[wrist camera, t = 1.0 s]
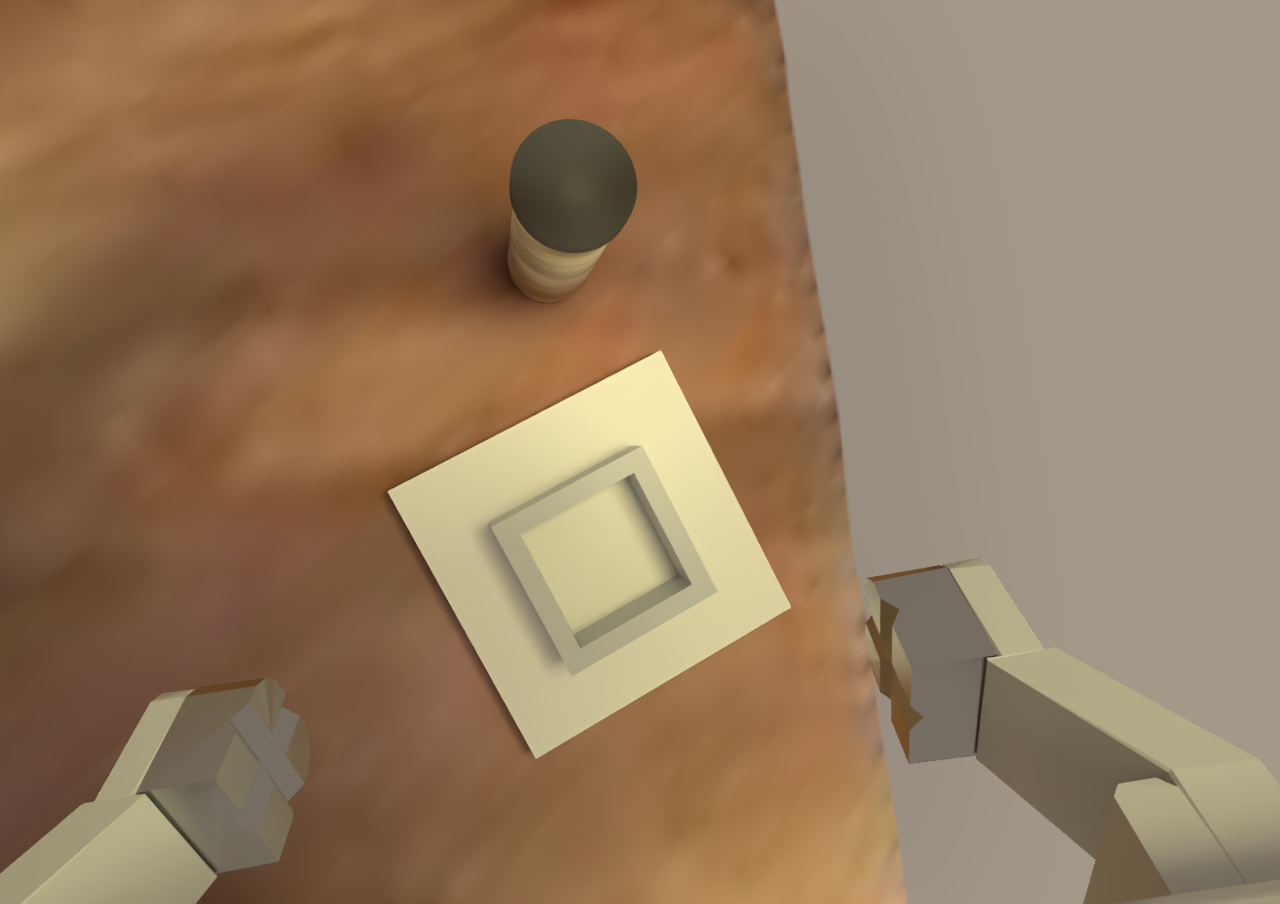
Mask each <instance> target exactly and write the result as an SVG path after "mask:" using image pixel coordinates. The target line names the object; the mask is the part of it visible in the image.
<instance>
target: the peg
mask: <svg viewBox="0 0 1280 904" xmlns="http://www.w3.org/2000/svg"><path fill="white" fill-rule="evenodd" d="M509 186H510V199H511V203H512V207H513V208H512V218H511V228H510V238H509V248H508V258H507V265H508V270H509V274H510V276H511V279H512V281H513V282H514V284H515V285H516V287H517V288H518V289H519V290H520V291H521V292H522V293H523V294H524V295H526V296H527V297H529V298H531V299H533V300H535V301H538V302H543V303H557V302H561V301H564V300H566V299H568V298H570V297H572V296H573V295H574V294H576V293H577V292H578V291H579V290H580V288H581V287H582V286H583V284H584V282H585V281H586V279H587V277H588V275H589V274H590V272H591V270H592V269H593V267H594V265H595V264H596V262H597V260H598V259H599V257H600V255H601V254H602V252H603V250H604V249H605V247H606V245H607V244H608V242H610V241H611V240H612V239H614V238H615V237H616V235H617V234H618V233H619V232H620V231H621V229H622V228H623V227H624V225H625V223H626V222H627V220H628V218H629V217H630V215H631V213H632V210H633V208H634V205H635V201H636V195H637V179H636V173H635V169H634V166H633V163H632V161H631V159H630V156H629V155H628V153H627V151H626V150H625V148H624V147H623V146H622V144H621V143H620V142H619V141H618V140H617V139H616V138H615V137H614V136H613V135H612V134H610V133H609V132H608V131H606V130H605V129H603V128H601V127H599V126H597V125H595V124H593V123H590V122H586V121H582V120H575V119H565V120H558V121H553V122H550V123H547V124H545V125H543V126H541V127H539V128H537V129H536V130H535V131H533V132H532V133H531V134H530V135H529V136H528V137H527V138H526V139H525V140H524V141H523V142H522V144H521V145H520V147H519V148H518V150H517V152H516V154H515V157H514V159H513V162H512V167H511V174H510V185H509Z"/></svg>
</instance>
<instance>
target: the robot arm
mask: <svg viewBox="0 0 1280 904" xmlns="http://www.w3.org/2000/svg"><path fill="white" fill-rule="evenodd" d="M865 600H866V602H867V605H868V607H869V610H870V612H871V614H872V616H871V617H870V618H869V620H868V621H867V622H866V641H867V647H868V653H869V659H870V663H871V666H872V670H873V673H874V676H875V679H876V682H877V684H878V687H879V690H880V692H881V693H882V694H884V695H886V696H887V697H888V698H890V699H891V720H892V723H893V725H894V728H895V730H896V733H897V735H898V738H899V740H900V743H901V745H902V748H903V750H904V753H905V755H906V758H907V760H908V763H909V764H913V763H920V762H928V761H936V760H944V759H952V758H958V757H967V756H975V755H976V759H977V760H978V761H979V762H981V763H982V764H983V765H984V766H985V767H987V768H988V769H989V770H990V771H991V772H992V773H994V774H995V775H996V776H997V777H998V778H1000V779H1001V780H1002V781H1003V782H1004V783H1006V784H1007V785H1008V786H1009V787H1010V788H1012V789H1013V790H1014V791H1015V792H1016V793H1017V794H1018V795H1020V796H1021V797H1022V798H1023V799H1024V800H1026V801H1027V802H1028V803H1029V804H1030V805H1032V806H1033V807H1034V808H1035V809H1036V810H1037V811H1039V812H1040V813H1041V814H1042V815H1043V816H1044V817H1046V818H1047V819H1048V820H1049V821H1050V822H1052V823H1053V824H1054V825H1055V826H1056V827H1057V828H1059V829H1060V830H1061V831H1062V832H1063V833H1065V834H1066V835H1067V836H1068V837H1069V838H1071V839H1072V840H1073V841H1074V842H1075V843H1076V844H1078V845H1079V846H1080V847H1081V848H1082V849H1084V850H1085V851H1086V852H1087V853H1088V854H1090V855H1091V856H1092V857H1093V858H1094V859H1095V860H1096V861H1095V864H1094V868H1093V871H1092V875H1091V878H1090V882H1089V885H1088V889H1087V892H1086V896H1085V899H1084V903H1083V904H1280V785H1279V784H1278V783H1277V781H1276V780H1275V779H1274V778H1273V776H1272V775H1271V774H1270V773H1269V772H1268V770H1267V769H1266V768H1265V767H1264V766H1263V764H1262V763H1261V762H1260V761H1259V759H1257V758H1255V757H1253V756H1251V755H1250V754H1248V753H1246V752H1244V751H1242V750H1240V749H1239V748H1237V747H1235V746H1233V745H1231V744H1229V743H1228V742H1226V741H1224V740H1222V739H1220V738H1219V737H1217V736H1215V735H1213V734H1211V733H1210V732H1208V731H1206V730H1204V729H1203V728H1201V727H1199V726H1197V725H1195V724H1193V723H1191V722H1190V721H1188V720H1186V719H1184V718H1183V717H1180V716H1179V715H1177V714H1175V713H1174V712H1172V711H1170V710H1168V709H1166V708H1164V707H1163V706H1161V705H1159V704H1157V703H1155V702H1154V701H1152V700H1150V699H1148V698H1146V697H1145V696H1143V695H1141V694H1139V693H1137V692H1136V691H1134V690H1132V689H1130V688H1128V687H1127V686H1125V685H1123V684H1121V683H1119V682H1117V681H1115V680H1114V679H1112V678H1110V677H1108V676H1107V675H1105V674H1103V673H1101V672H1099V671H1098V670H1096V669H1094V668H1092V667H1090V666H1089V665H1087V664H1085V663H1083V662H1081V661H1079V660H1078V659H1076V658H1074V657H1072V656H1070V655H1069V654H1067V653H1065V652H1063V651H1061V650H1060V649H1057V648H1050V649H1044V648H1043V647H1042V645H1041V644H1040V642H1039V641H1038V639H1037V638H1036V636H1035V634H1034V633H1033V631H1032V630H1031V628H1030V627H1029V625H1028V624H1027V622H1026V621H1025V619H1024V618H1023V616H1022V614H1021V613H1020V611H1019V610H1018V608H1017V607H1016V605H1015V604H1014V602H1013V601H1012V599H1011V598H1010V596H1009V594H1008V593H1007V591H1006V590H1005V588H1004V587H1003V585H1002V584H1001V582H1000V581H999V579H998V578H997V576H996V575H995V573H994V571H993V570H992V569H991V567H990V565H989V564H988V562H986V561H984V560H983V559H982V558H977V559H971V560H966V561H960V562H955V563H948V564H943V565H942V566H940V565H938V566H932V567H926V568H921V569H915V570H909V571H903V572H898V573H892V574H886V575H881V576H875V577H869V578H867V580H866V584H865ZM285 697H286V694H285V692H284V691H283V689H282V688H281V687H280V685H279V684H278V682H277V681H276V679H267V678H263V679H256V680H249V681H242V682H235V683H228V684H221V685H213V686H206V687H199V688H196V689H190V690H183V691H176V692H168V693H162V694H161V695H159V696H158V697H157V698H155V699H154V700H153V701H151V702H150V704H149V706H148V707H147V709H146V711H145V713H144V714H143V716H142V718H141V720H140V721H139V723H138V725H137V727H136V729H135V730H134V732H133V734H132V736H131V737H130V739H129V741H128V743H127V744H126V746H125V748H124V750H123V751H122V753H121V755H120V757H119V759H118V760H117V762H116V764H115V766H114V767H113V769H112V771H111V773H110V774H109V776H108V778H107V780H106V781H105V783H104V785H103V787H102V789H101V790H100V792H99V794H98V796H97V797H96V799H95V801H94V802H89V803H83V804H82V805H81V806H79V807H78V808H77V809H76V810H75V811H73V812H72V813H71V814H70V815H69V816H68V817H66V818H65V819H64V820H63V821H62V822H60V823H59V824H58V825H57V826H56V827H55V828H53V829H52V830H51V831H50V832H49V833H47V834H46V835H45V836H44V837H43V838H42V839H40V840H39V841H38V842H37V843H36V844H35V845H33V846H32V847H31V848H30V849H29V850H27V851H26V852H25V853H24V854H23V855H22V856H20V857H19V858H18V859H17V860H16V861H14V862H13V863H12V864H11V865H10V866H9V867H7V868H6V869H5V870H4V871H3V872H2V873H0V904H196V903H197V901H198V900H199V899H200V898H201V896H202V895H203V894H204V893H205V891H206V890H207V889H208V888H209V886H210V885H211V884H212V883H213V881H214V880H215V879H216V878H217V875H216V873H221V872H227V871H232V870H238V869H243V868H248V867H254V866H259V865H265V864H270V863H275V862H279V860H280V857H281V854H282V851H283V848H284V845H285V842H286V839H287V835H288V832H289V829H290V826H291V823H292V820H293V817H294V812H293V810H292V808H291V806H290V804H289V800H290V799H291V798H292V797H293V796H294V794H295V793H296V792H297V791H298V790H299V789H300V788H301V787H302V786H303V785H304V784H305V780H306V777H307V774H308V770H309V767H310V757H311V741H310V738H309V734H308V731H307V727H306V725H305V724H304V722H303V721H302V719H301V717H300V716H299V715H297V714H295V713H293V712H291V711H290V710H288V709H286V708H284V707H282V705H283V702H284V700H285Z"/></svg>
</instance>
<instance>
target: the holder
mask: <svg viewBox="0 0 1280 904" xmlns="http://www.w3.org/2000/svg"><path fill="white" fill-rule="evenodd" d="M387 492H388V493H389V495H390V497H391V499H392V501H393V502H394V504H395V506H396V508H397V510H398V511H399V513H400V515H401V517H402V519H403V520H404V522H405V524H406V526H407V528H408V529H409V531H410V533H411V535H412V537H413V538H414V540H415V542H416V544H417V546H418V547H419V549H420V551H421V553H422V555H423V556H424V558H425V560H426V562H427V564H428V565H429V567H430V569H431V571H432V573H433V574H434V576H435V578H436V580H437V582H438V583H439V585H440V587H441V589H442V591H443V592H444V594H445V596H446V598H447V600H448V602H449V603H450V605H451V607H452V609H453V611H454V612H455V614H456V616H457V618H458V620H459V621H460V623H461V625H462V627H463V629H464V630H465V632H466V634H467V636H468V638H469V639H470V641H471V643H472V645H473V647H474V648H475V650H476V652H477V654H478V656H479V657H480V659H481V661H482V663H483V665H484V666H485V668H486V670H487V672H488V674H489V675H490V677H491V679H492V681H493V683H494V684H495V686H496V688H497V690H498V692H499V693H500V695H501V697H502V699H503V701H504V702H505V704H506V706H507V708H508V710H509V711H510V713H511V715H512V717H513V719H514V720H515V722H516V724H517V726H518V728H519V729H520V731H521V733H522V735H523V737H524V738H525V740H526V742H527V744H528V746H529V747H530V749H531V751H532V753H533V755H534V756H535V758H536V759H537V758H538V757H540V756H542V755H543V754H545V753H547V752H548V751H550V750H552V749H553V748H555V747H557V746H559V745H560V744H562V743H564V742H565V741H567V740H569V739H570V738H572V737H574V736H575V735H577V734H579V733H580V732H582V731H584V730H585V729H587V728H589V727H590V726H592V725H594V724H596V723H597V722H599V721H601V720H602V719H604V718H606V717H607V716H609V715H611V714H612V713H614V712H616V711H617V710H619V709H621V708H622V707H624V706H626V705H628V704H629V703H631V702H633V701H634V700H636V699H638V698H639V697H641V696H643V695H644V694H646V693H648V692H649V691H651V690H653V689H654V688H656V687H658V686H659V685H661V684H663V683H665V682H666V681H668V680H670V679H671V678H673V677H675V676H676V675H678V674H680V673H681V672H683V671H685V670H686V669H688V668H690V667H691V666H693V665H695V664H696V663H698V662H700V661H702V660H703V659H705V658H707V657H708V656H710V655H712V654H713V653H715V652H717V651H718V650H720V649H722V648H723V647H725V646H727V645H728V644H730V643H732V642H734V641H735V640H737V639H739V638H740V637H742V636H744V635H745V634H747V633H749V632H750V631H752V630H754V629H755V628H757V627H759V626H760V625H762V624H764V623H765V622H767V621H769V620H771V619H772V618H774V617H776V616H777V615H779V614H781V613H782V612H784V611H786V610H787V609H789V608H791V606H790V604H789V602H788V600H787V598H786V596H785V594H784V592H783V590H782V588H781V586H780V584H779V582H778V580H777V578H776V576H775V574H774V572H773V570H772V568H771V567H770V565H769V563H768V561H767V559H766V557H765V555H764V553H763V551H762V549H761V547H760V545H759V543H758V541H757V539H756V537H755V535H754V533H753V531H752V529H751V527H750V525H749V523H748V521H747V519H746V517H745V515H744V513H743V511H742V509H741V507H740V505H739V503H738V501H737V499H736V498H735V496H734V494H733V492H732V490H731V488H730V486H729V484H728V482H727V480H726V478H725V476H724V474H723V472H722V470H721V468H720V466H719V464H718V462H717V460H716V458H715V456H714V454H713V452H712V450H711V448H710V446H709V444H708V442H707V440H706V438H705V436H704V434H703V432H702V430H701V429H700V427H699V425H698V423H697V421H696V419H695V417H694V415H693V413H692V411H691V409H690V407H689V405H688V403H687V401H686V399H685V397H684V395H683V393H682V391H681V389H680V387H679V385H678V383H677V381H676V379H675V377H674V375H673V373H672V371H671V369H670V367H669V365H668V363H667V361H666V360H665V358H664V356H663V354H662V352H661V350H660V351H658V352H656V353H654V354H653V355H651V356H649V357H647V358H645V359H643V360H641V361H639V362H637V363H635V364H633V365H631V366H629V367H627V368H625V369H624V370H622V371H620V372H618V373H616V374H614V375H612V376H610V377H608V378H606V379H604V380H602V381H600V382H598V383H596V384H594V385H593V386H591V387H589V388H587V389H585V390H583V391H581V392H579V393H577V394H575V395H573V396H571V397H569V398H567V399H565V400H563V401H562V402H560V403H558V404H556V405H554V406H552V407H550V408H548V409H546V410H544V411H542V412H540V413H538V414H536V415H534V416H532V417H531V418H529V419H527V420H525V421H523V422H521V423H519V424H517V425H515V426H513V427H511V428H509V429H507V430H505V431H503V432H501V433H500V434H498V435H496V436H494V437H492V438H490V439H488V440H486V441H484V442H482V443H480V444H478V445H476V446H474V447H472V448H470V449H469V450H467V451H465V452H463V453H461V454H459V455H457V456H455V457H453V458H451V459H449V460H447V461H445V462H443V463H441V464H440V465H438V466H436V467H434V468H432V469H430V470H428V471H426V472H424V473H422V474H420V475H418V476H416V477H414V478H412V479H410V480H409V481H407V482H405V483H403V484H401V485H399V486H397V487H395V488H393V489H391V490H389V491H387Z"/></svg>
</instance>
